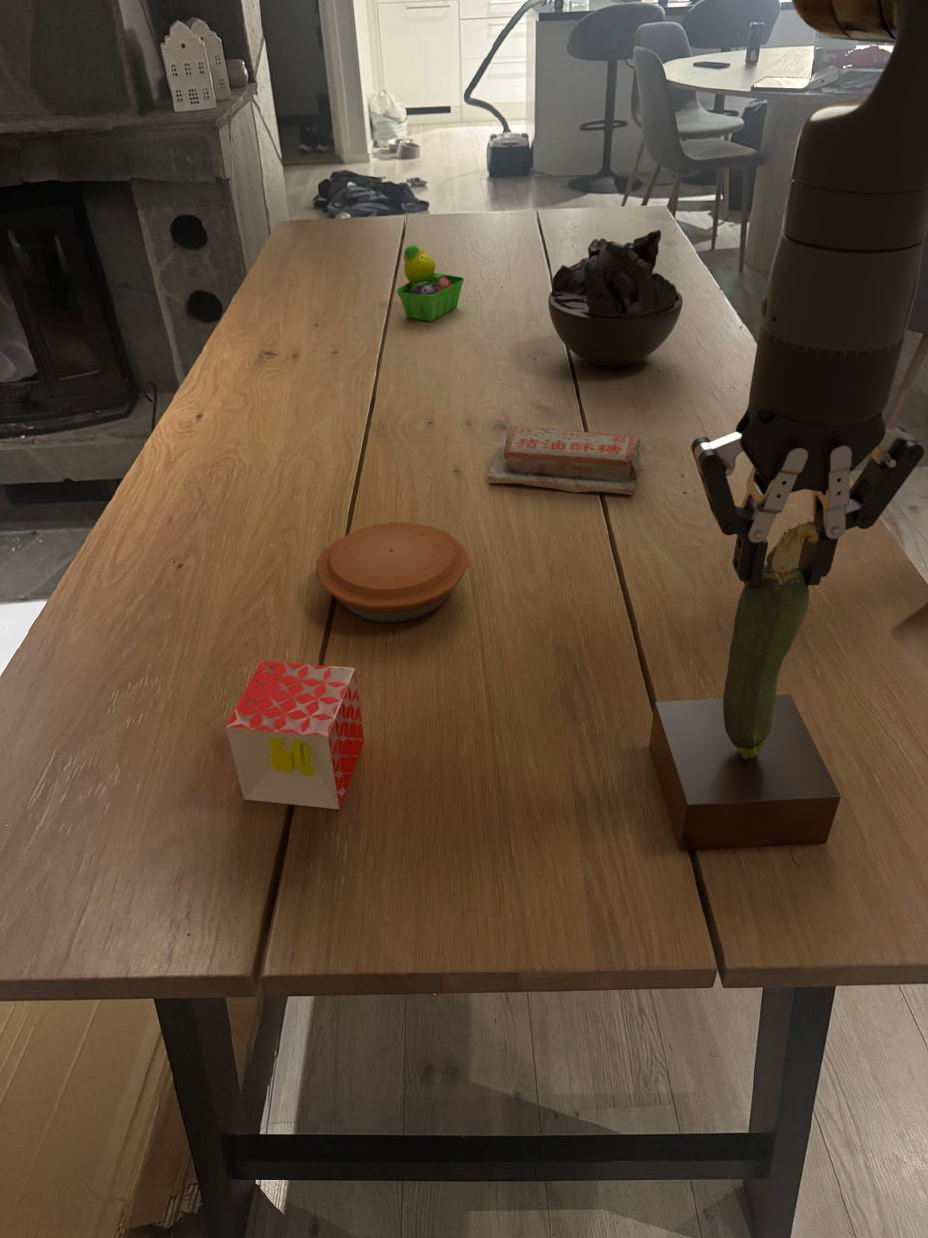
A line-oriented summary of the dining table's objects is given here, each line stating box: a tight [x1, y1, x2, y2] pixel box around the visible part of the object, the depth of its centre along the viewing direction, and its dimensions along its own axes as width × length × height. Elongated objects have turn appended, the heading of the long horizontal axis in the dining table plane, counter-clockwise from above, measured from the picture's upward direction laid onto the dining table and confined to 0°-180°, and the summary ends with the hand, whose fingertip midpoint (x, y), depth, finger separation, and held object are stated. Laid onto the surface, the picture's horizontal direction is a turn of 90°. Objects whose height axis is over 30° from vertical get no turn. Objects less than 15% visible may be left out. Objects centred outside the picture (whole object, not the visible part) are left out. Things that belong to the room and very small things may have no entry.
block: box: [648, 694, 842, 852], centre depth 71 cm, size 11×11×5 cm
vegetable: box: [722, 520, 819, 759], centre depth 64 cm, size 4×4×20 cm
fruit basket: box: [396, 244, 465, 323], centre depth 163 cm, size 11×9×11 cm
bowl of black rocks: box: [547, 229, 683, 367], centre depth 140 cm, size 20×20×19 cm
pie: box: [315, 521, 470, 623], centre depth 95 cm, size 15×16×5 cm
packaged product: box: [487, 425, 642, 496], centre depth 115 cm, size 18×5×10 cm
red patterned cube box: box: [225, 660, 365, 810], centre depth 74 cm, size 8×8×8 cm
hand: (778, 579), depth 61 cm, fingers closed on vegetable, 3 cm apart
